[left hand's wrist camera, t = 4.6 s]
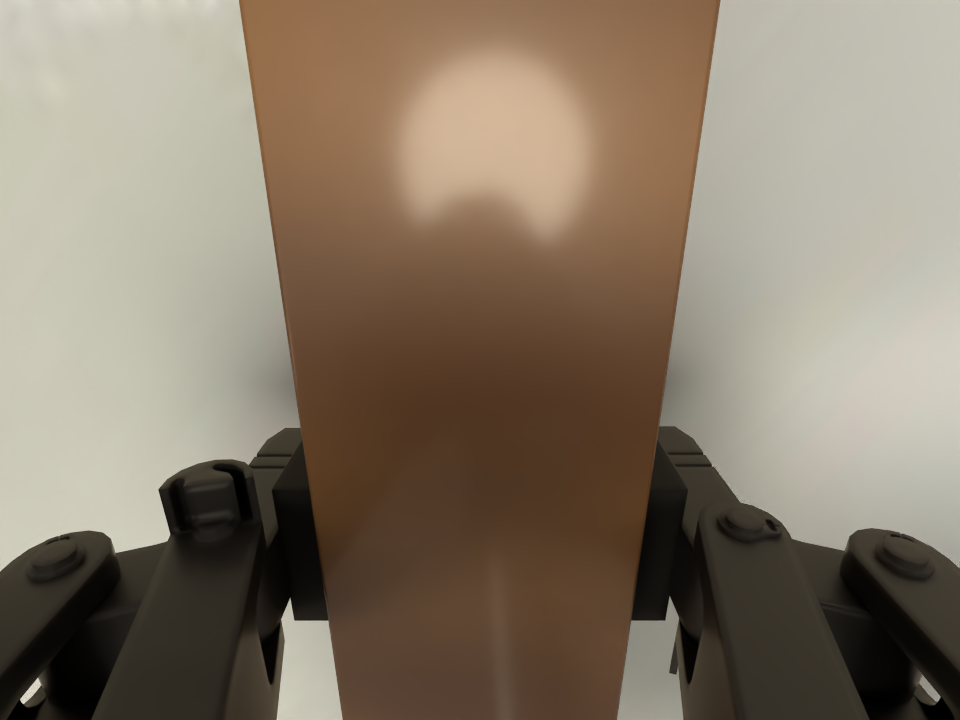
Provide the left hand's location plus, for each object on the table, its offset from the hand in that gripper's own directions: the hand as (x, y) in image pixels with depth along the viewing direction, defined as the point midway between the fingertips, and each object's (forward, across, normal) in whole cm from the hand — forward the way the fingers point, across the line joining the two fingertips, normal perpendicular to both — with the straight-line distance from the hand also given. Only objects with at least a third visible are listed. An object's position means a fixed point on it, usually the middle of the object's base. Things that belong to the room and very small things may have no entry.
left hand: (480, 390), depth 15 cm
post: (+1, 0, -29) cm, 29 cm away
